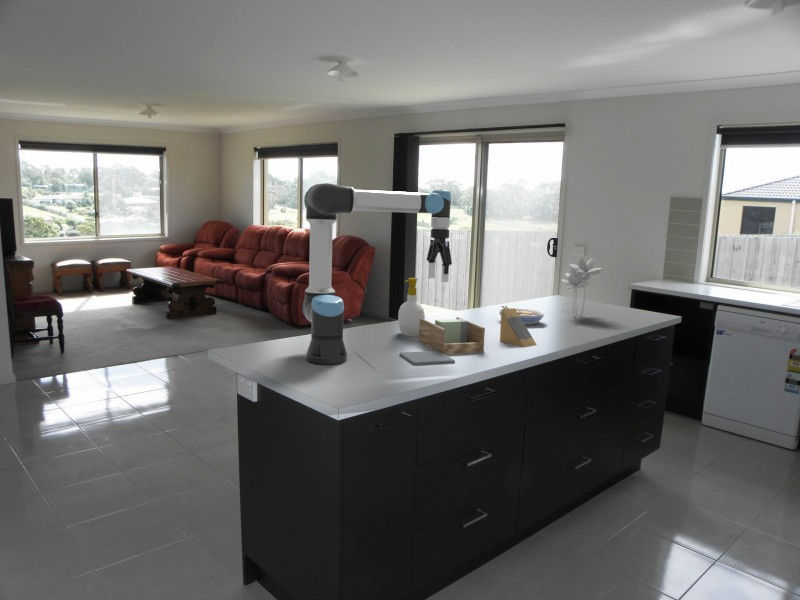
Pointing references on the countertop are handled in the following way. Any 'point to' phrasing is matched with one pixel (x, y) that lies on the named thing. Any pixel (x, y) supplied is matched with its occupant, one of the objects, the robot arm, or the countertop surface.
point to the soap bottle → (410, 312)
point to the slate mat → (426, 357)
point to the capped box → (454, 330)
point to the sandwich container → (514, 329)
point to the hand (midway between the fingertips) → (438, 280)
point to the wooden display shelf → (436, 340)
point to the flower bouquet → (580, 277)
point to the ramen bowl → (528, 315)
